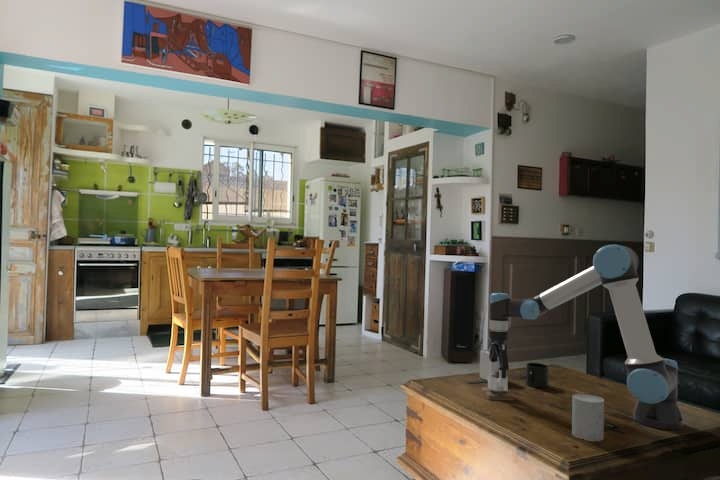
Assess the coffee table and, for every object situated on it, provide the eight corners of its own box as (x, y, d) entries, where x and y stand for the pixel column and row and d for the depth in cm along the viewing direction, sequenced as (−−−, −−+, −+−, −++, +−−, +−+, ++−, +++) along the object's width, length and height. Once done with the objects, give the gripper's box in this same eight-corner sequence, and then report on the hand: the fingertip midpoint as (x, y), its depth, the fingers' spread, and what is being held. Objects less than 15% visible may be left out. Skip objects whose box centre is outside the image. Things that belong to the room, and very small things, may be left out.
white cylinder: (594, 430, 158) (594, 393, 158) (610, 441, 148) (610, 402, 149) (566, 429, 158) (566, 393, 158) (580, 441, 148) (581, 402, 148)
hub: (509, 391, 191) (509, 378, 191) (491, 390, 191) (491, 378, 191) (503, 386, 198) (504, 374, 198) (486, 385, 198) (486, 373, 198)
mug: (519, 385, 210) (519, 365, 210) (531, 381, 218) (532, 361, 219) (539, 390, 203) (540, 369, 204) (551, 385, 212) (552, 365, 212)
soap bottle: (494, 376, 226) (495, 336, 226) (506, 380, 218) (506, 339, 218) (479, 377, 223) (480, 337, 223) (490, 382, 214) (491, 340, 215)
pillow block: (514, 400, 188) (514, 375, 188) (489, 399, 188) (489, 374, 189) (505, 391, 200) (505, 368, 200) (481, 390, 200) (482, 367, 201)
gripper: (517, 335, 182) (516, 390, 182) (499, 325, 207) (498, 374, 207) (498, 335, 183) (497, 389, 182) (482, 325, 207) (481, 373, 207)
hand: (498, 381), depth 194 cm, fingers open, 13 cm apart
